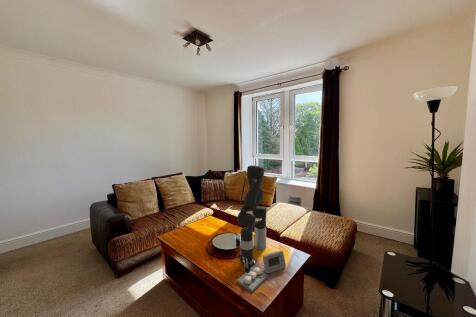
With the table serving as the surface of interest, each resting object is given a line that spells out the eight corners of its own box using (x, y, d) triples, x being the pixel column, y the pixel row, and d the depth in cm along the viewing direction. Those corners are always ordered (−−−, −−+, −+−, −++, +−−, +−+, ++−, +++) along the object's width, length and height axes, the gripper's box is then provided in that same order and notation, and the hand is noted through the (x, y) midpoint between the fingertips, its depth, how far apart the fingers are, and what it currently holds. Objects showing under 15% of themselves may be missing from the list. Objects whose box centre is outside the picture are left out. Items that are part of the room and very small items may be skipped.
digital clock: (264, 275, 128) (264, 259, 126) (260, 265, 136) (260, 251, 135) (288, 271, 130) (288, 256, 129) (282, 262, 139) (282, 248, 138)
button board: (237, 282, 122) (236, 279, 121) (252, 268, 133) (252, 266, 133) (252, 292, 114) (252, 289, 113) (267, 276, 126) (267, 274, 125)
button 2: (247, 279, 123) (247, 274, 123) (251, 275, 127) (251, 270, 126) (253, 282, 120) (253, 277, 120) (257, 278, 124) (257, 273, 123)
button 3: (252, 274, 127) (252, 270, 127) (256, 271, 130) (256, 266, 130) (258, 278, 124) (258, 273, 124) (262, 274, 127) (262, 269, 127)
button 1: (242, 284, 120) (242, 278, 119) (247, 279, 123) (246, 274, 123) (248, 287, 117) (248, 282, 116) (252, 283, 120) (252, 278, 120)
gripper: (234, 244, 118) (235, 270, 121) (251, 253, 110) (252, 281, 112) (242, 239, 124) (242, 264, 126) (259, 246, 115) (259, 273, 118)
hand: (247, 272), depth 119 cm, fingers closed
